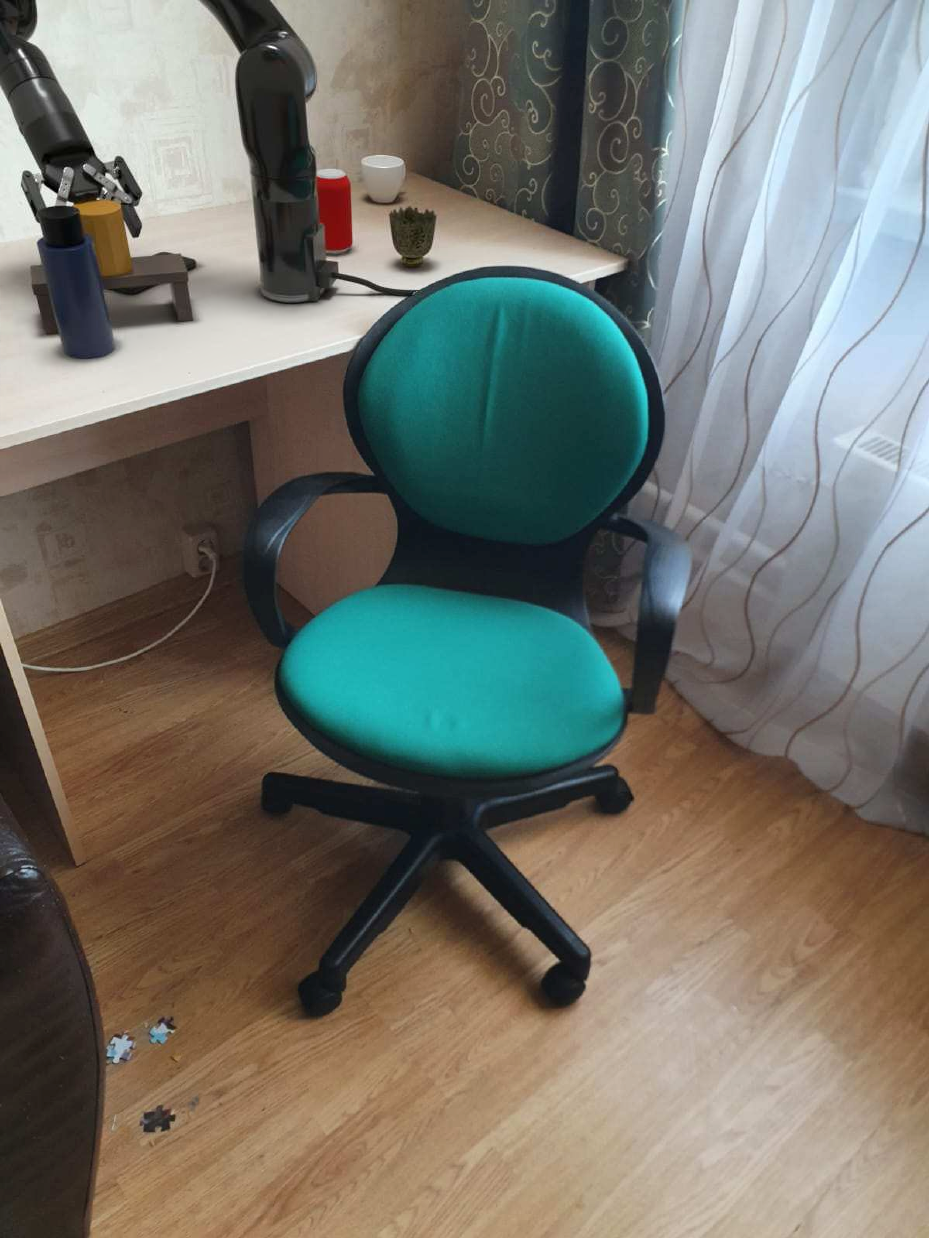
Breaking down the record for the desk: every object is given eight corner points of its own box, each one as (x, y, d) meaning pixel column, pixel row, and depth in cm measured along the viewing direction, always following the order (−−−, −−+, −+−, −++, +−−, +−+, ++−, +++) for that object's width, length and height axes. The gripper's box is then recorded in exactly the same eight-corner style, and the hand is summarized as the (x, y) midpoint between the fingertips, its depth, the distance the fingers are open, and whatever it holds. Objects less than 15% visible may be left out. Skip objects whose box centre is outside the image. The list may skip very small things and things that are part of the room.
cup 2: (443, 262, 156) (444, 211, 150) (422, 276, 150) (423, 224, 145) (402, 253, 158) (402, 203, 153) (381, 267, 153) (380, 216, 147)
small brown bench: (188, 301, 139) (180, 253, 135) (194, 320, 134) (187, 271, 130) (42, 315, 134) (30, 265, 129) (44, 335, 129) (31, 284, 124)
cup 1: (353, 199, 178) (352, 161, 174) (388, 188, 184) (388, 150, 180) (385, 209, 175) (384, 170, 170) (419, 197, 181) (420, 159, 177)
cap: (140, 262, 132) (129, 202, 126) (119, 279, 127) (107, 217, 122) (97, 257, 132) (84, 197, 127) (75, 274, 128) (61, 212, 122)
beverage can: (308, 247, 158) (303, 171, 150) (338, 240, 161) (335, 165, 153) (329, 258, 155) (325, 180, 147) (360, 251, 158) (358, 174, 150)
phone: (199, 260, 149) (131, 290, 139) (200, 265, 150) (132, 295, 140) (162, 250, 152) (93, 279, 142) (163, 256, 152) (94, 284, 142)
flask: (124, 340, 129) (96, 206, 117) (101, 361, 124) (70, 223, 112) (78, 335, 129) (46, 201, 118) (53, 355, 124) (18, 217, 113)
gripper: (-2, 116, 118) (58, 237, 119) (107, 102, 126) (163, 216, 127) (-6, 152, 125) (51, 266, 126) (98, 137, 132) (151, 245, 133)
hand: (107, 241), depth 126 cm, fingers open, 8 cm apart
